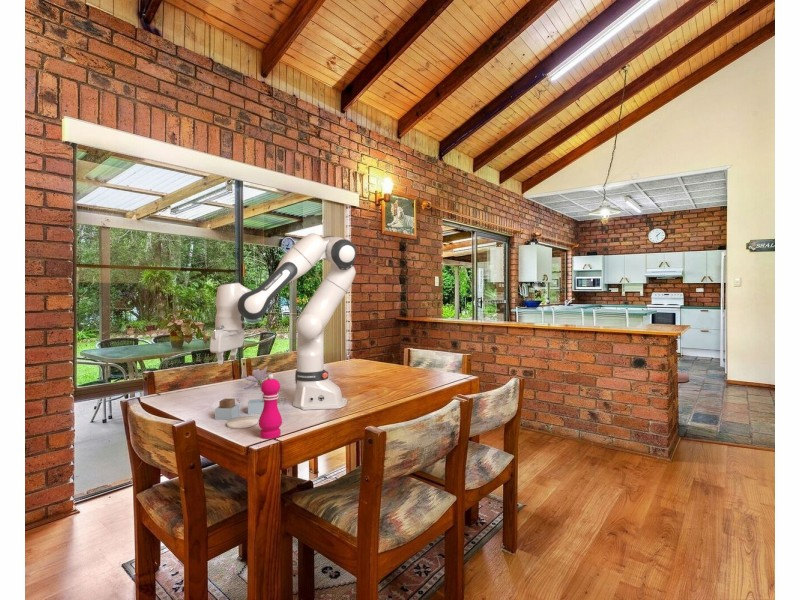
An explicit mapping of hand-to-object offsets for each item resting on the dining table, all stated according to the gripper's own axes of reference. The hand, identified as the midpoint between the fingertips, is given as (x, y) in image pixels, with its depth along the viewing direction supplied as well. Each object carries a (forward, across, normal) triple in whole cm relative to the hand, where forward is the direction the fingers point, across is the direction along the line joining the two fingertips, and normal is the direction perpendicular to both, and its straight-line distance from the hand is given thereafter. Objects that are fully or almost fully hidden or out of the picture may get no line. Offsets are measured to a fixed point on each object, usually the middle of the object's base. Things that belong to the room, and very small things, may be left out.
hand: (226, 361), depth 154 cm
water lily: (+20, +47, +6) cm, 52 cm away
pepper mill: (+20, -20, -25) cm, 38 cm away
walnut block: (+20, -2, -2) cm, 21 cm away
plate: (+20, -9, -11) cm, 24 cm away
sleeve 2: (+20, +7, -9) cm, 23 cm away
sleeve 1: (+20, -2, -2) cm, 20 cm away
